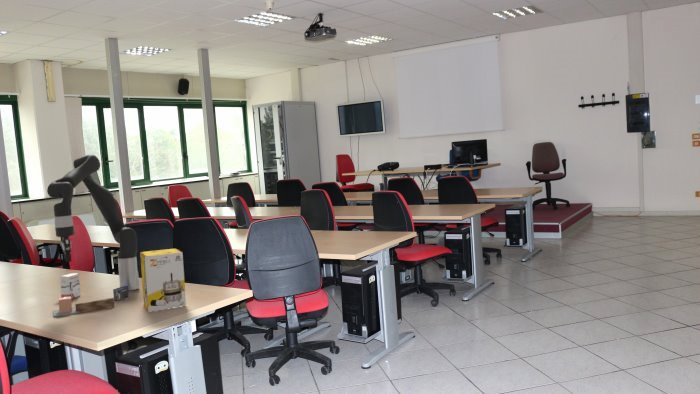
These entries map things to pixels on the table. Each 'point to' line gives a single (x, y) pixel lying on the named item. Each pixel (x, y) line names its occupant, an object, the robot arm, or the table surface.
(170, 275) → the packaging box
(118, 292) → the mini dv tape
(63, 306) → the terracotta block
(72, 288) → the ink box
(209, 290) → the table surface
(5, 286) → the table surface
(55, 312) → the slate mat
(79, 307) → the walnut screen
